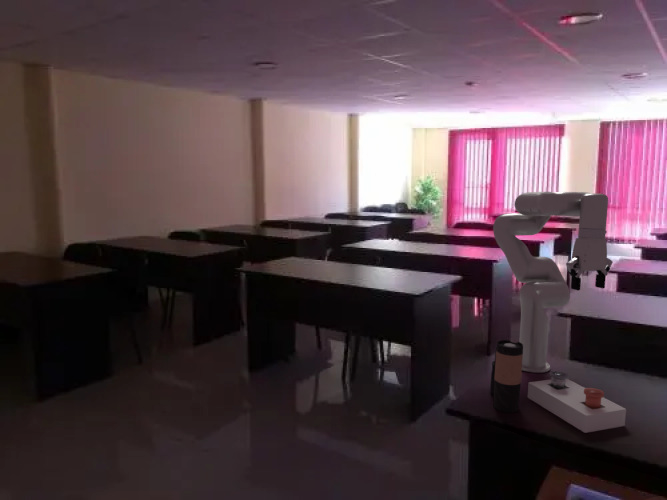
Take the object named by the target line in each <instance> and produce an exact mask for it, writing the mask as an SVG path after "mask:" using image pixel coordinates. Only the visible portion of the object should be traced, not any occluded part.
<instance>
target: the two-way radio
mask: <svg viewBox="0 0 667 500" xmlns="http://www.w3.org/2000/svg"><path fill="white" fill-rule="evenodd" d="M496 349H497V346H495V350H496ZM494 353H495V354H494V360H493V361H492V362H491V374H490V375H491V376H490V386H489V387H490V388H489V390H490V394H491V395H494V377H495V363H496V351H495V352H494Z"/></svg>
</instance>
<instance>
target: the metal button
mask: <svg viewBox="0 0 667 500" xmlns="http://www.w3.org/2000/svg"><path fill="white" fill-rule="evenodd" d="M549 376H550V377H551V379H552V380H551V379H550V380H551V387H553V388H555V389H556V390H560V389H565V382H566V379H569V374H568V373H567V372H565V371H562V370H551V371H550V372H549Z"/></svg>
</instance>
